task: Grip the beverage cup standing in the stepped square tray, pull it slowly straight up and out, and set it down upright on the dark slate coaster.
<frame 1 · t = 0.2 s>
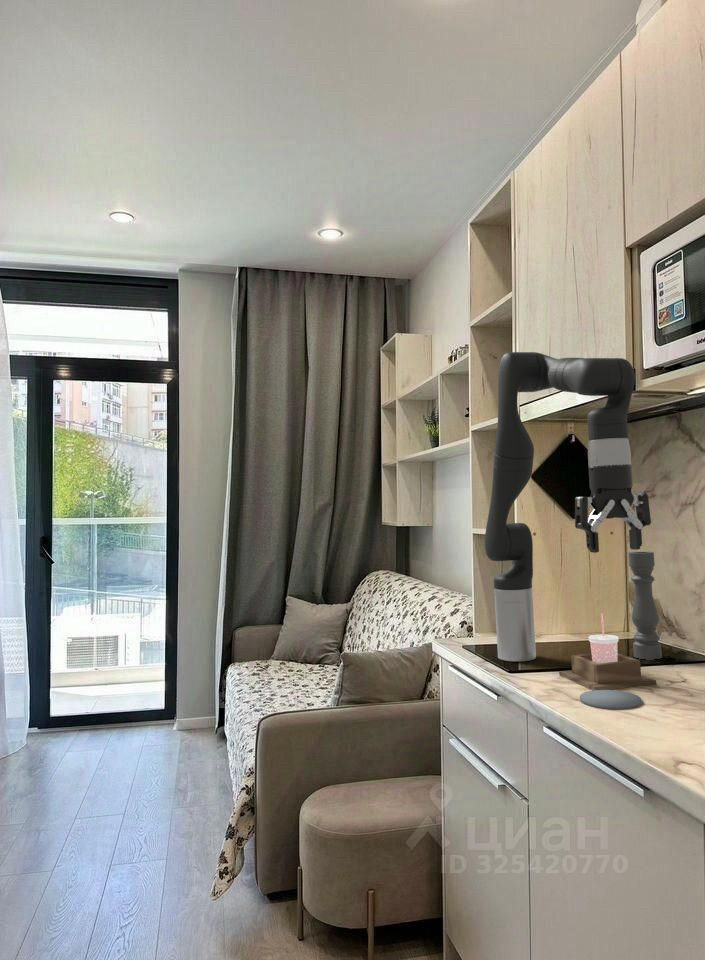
hand: (614, 550, 127), 29 cm above the worktop, fingers open, 8 cm apart
beverage cup: (606, 680, 145), resting in stepped square tray
candle holder: (647, 658, 163), on the worktop
slate coaster: (610, 700, 130), on the worktop
stepped square tray: (606, 679, 145), on the worktop
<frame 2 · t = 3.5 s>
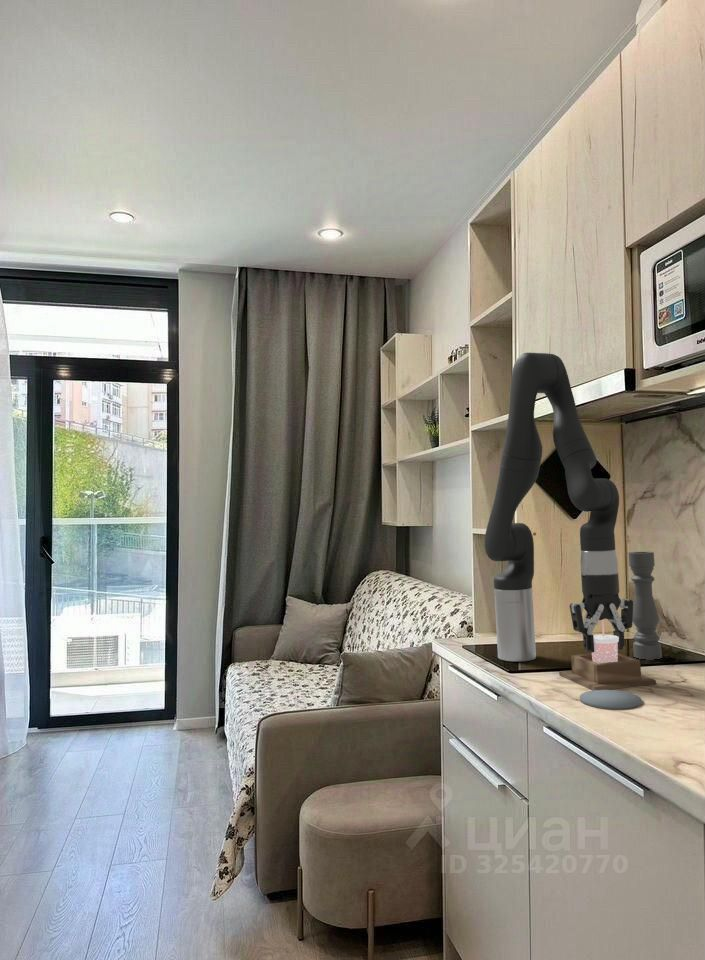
hand: (604, 650, 145), 6 cm above the worktop, fingers closed on beverage cup, 6 cm apart
beverage cup: (606, 680, 145), resting in stepped square tray, touching gripper
everything else where it was.
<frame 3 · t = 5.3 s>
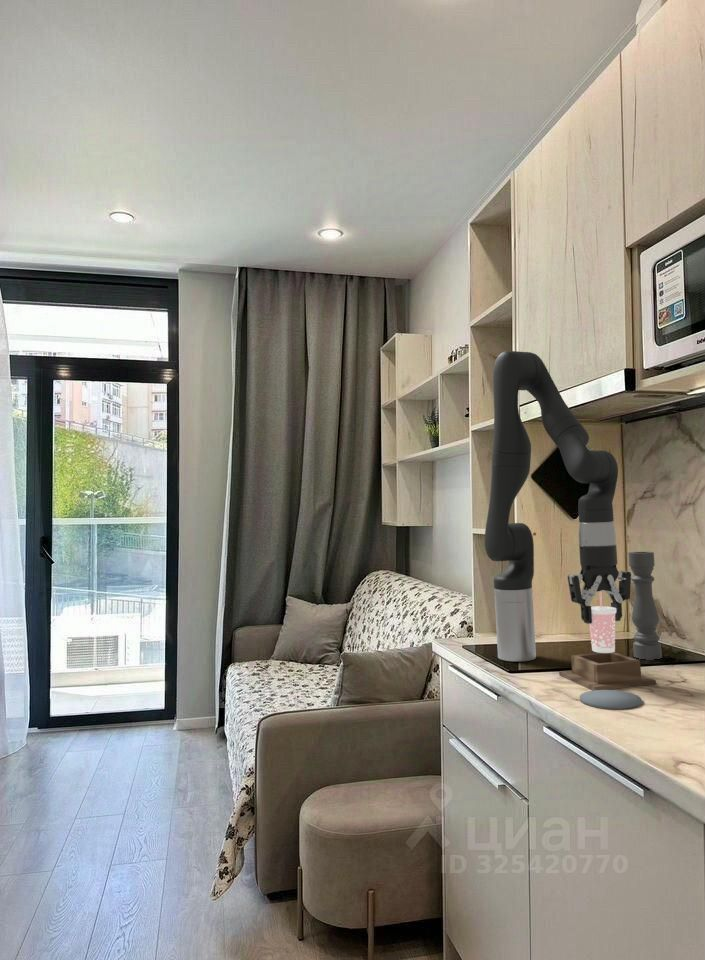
hand: (601, 621, 146), 12 cm above the worktop, fingers closed on beverage cup, 6 cm apart
beverage cup: (603, 651, 145), point 6 cm above the worktop, touching gripper
everything else where it was.
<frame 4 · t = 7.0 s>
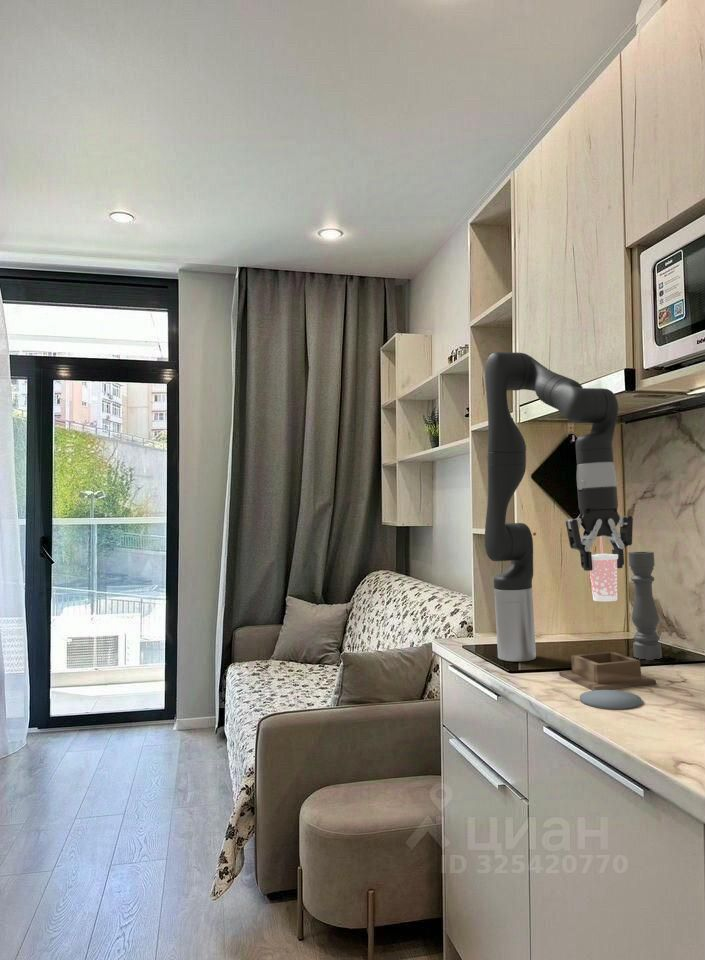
hand: (602, 569, 137), 24 cm above the worktop, fingers closed on beverage cup, 6 cm apart
beverage cup: (605, 601, 136), point 18 cm above the worktop, touching gripper
everything else where it was.
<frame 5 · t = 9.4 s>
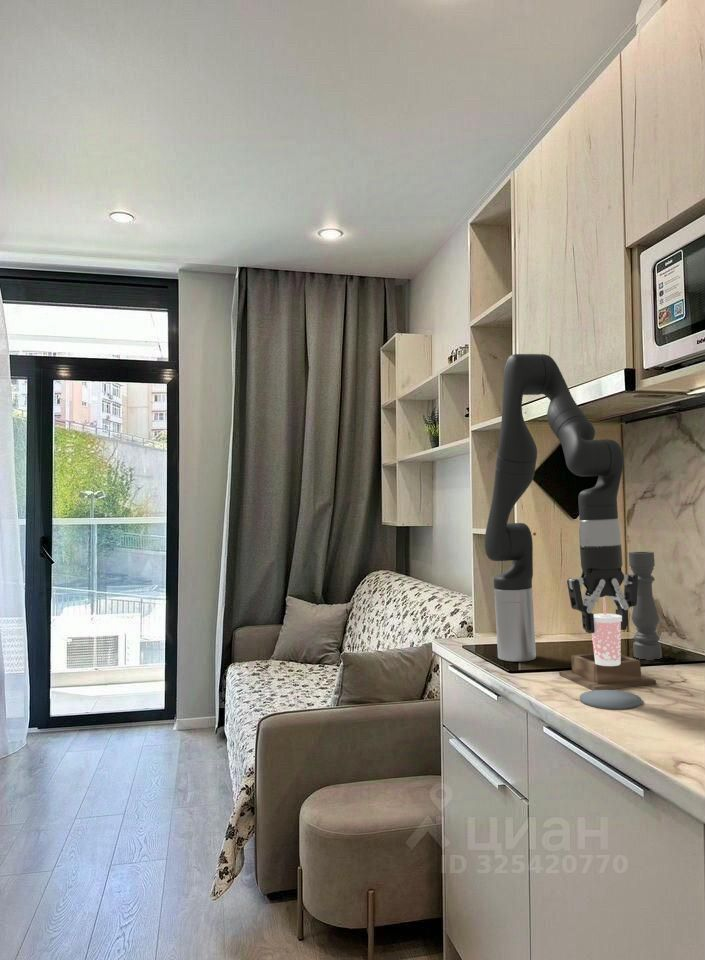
hand: (605, 630, 130), 13 cm above the worktop, fingers closed on beverage cup, 6 cm apart
beverage cup: (607, 664, 130), point 7 cm above the worktop, touching gripper
everything else where it was.
when the fingers open (8 cm above the worktop, at t = 11.0 s): beverage cup drops 1 cm, resting on slate coaster.
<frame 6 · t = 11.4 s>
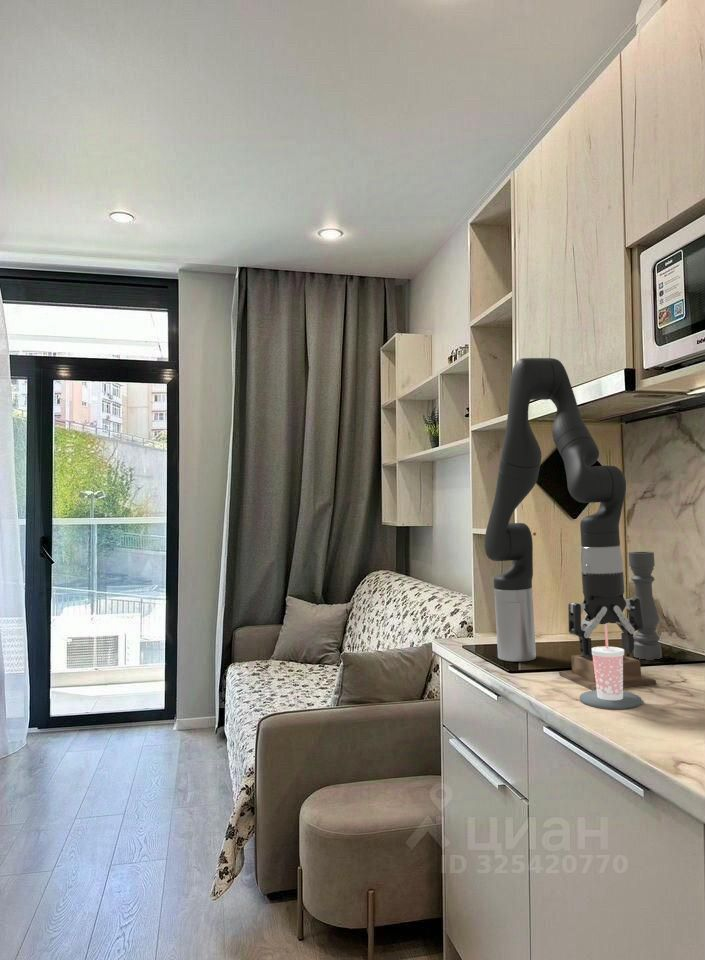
hand: (607, 655, 130), 9 cm above the worktop, fingers open, 8 cm apart
beverage cup: (610, 698, 130), resting on slate coaster
everything else where it was.
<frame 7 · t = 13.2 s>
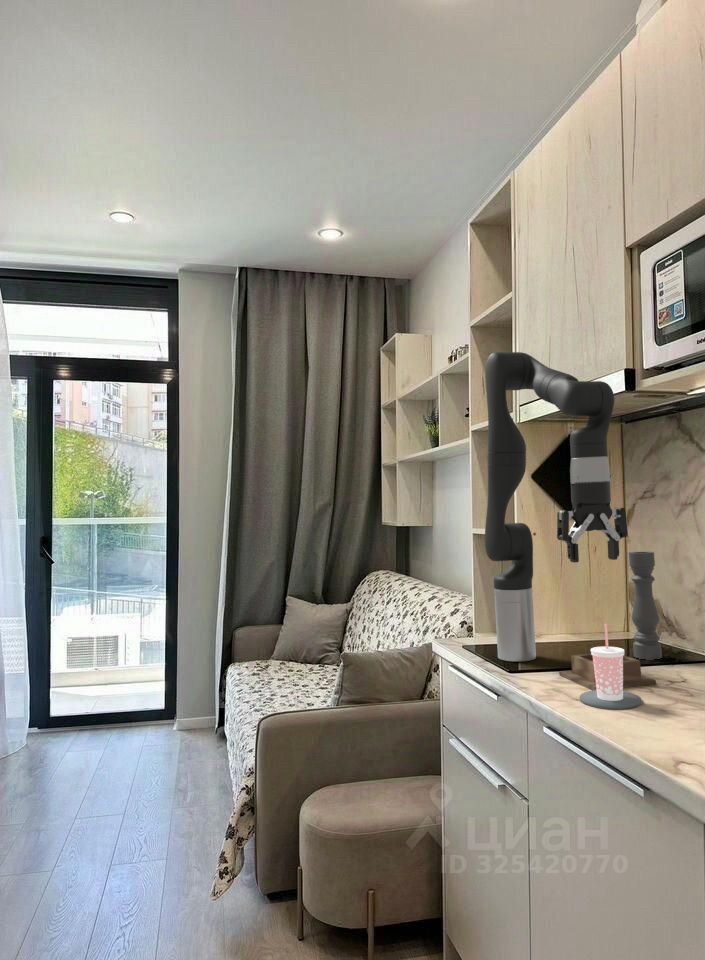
hand: (593, 560, 137), 26 cm above the worktop, fingers open, 8 cm apart
nothing on the worktop moved.
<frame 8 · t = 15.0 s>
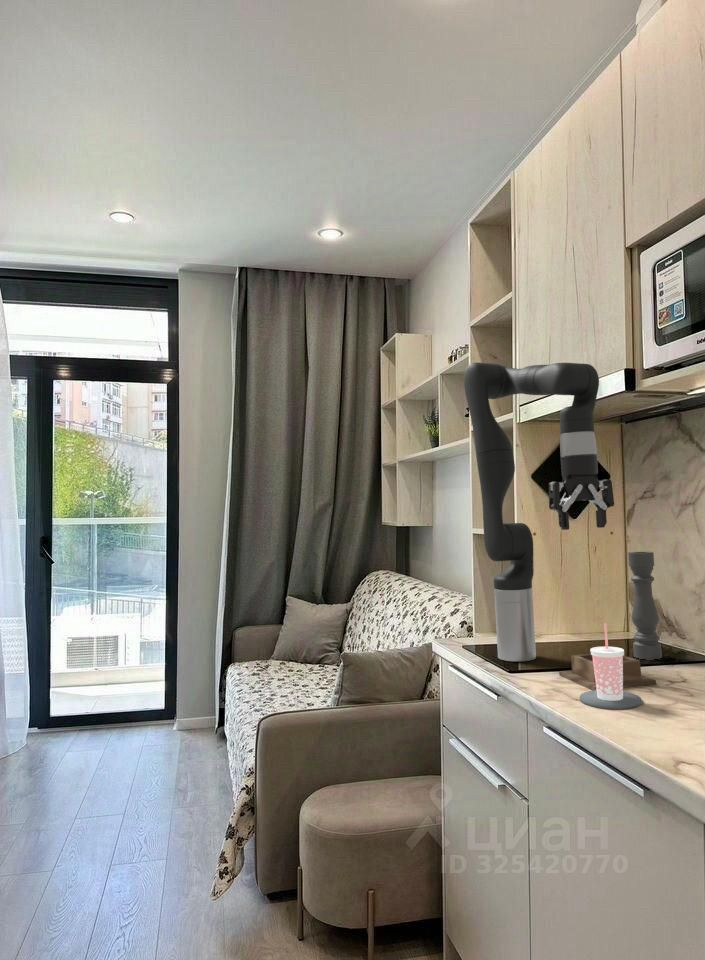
hand: (583, 528, 148), 32 cm above the worktop, fingers open, 8 cm apart
nothing on the worktop moved.
at the end: beverage cup 0.2 cm off-centre on the slate coaster, point 0.4 cm above the slate coaster's base; beverage cup tilted 0°; the gripper is holding nothing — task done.
